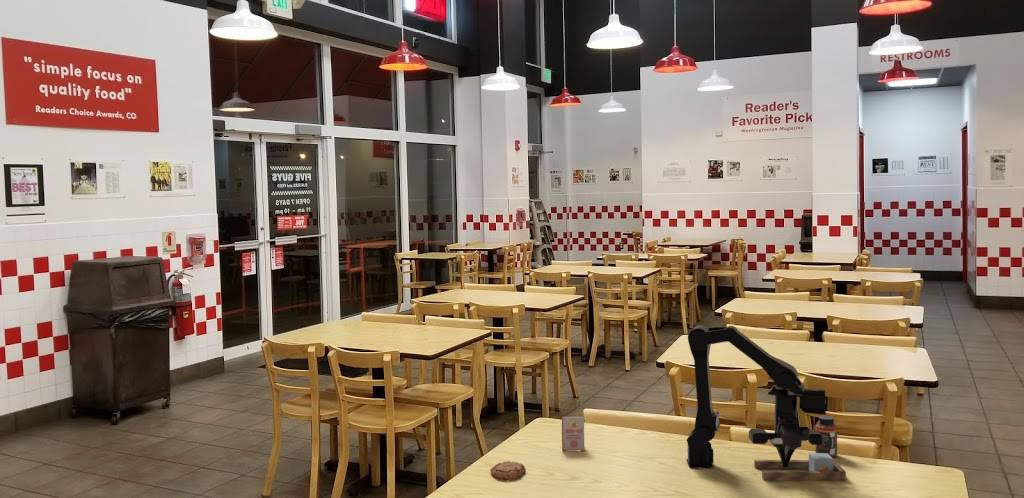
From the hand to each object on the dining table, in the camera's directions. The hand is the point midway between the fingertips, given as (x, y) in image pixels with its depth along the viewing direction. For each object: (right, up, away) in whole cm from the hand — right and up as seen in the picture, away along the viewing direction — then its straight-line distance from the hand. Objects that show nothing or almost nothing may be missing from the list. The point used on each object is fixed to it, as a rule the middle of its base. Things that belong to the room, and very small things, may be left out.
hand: (784, 467), depth 218 cm
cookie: (-76, -4, +4) cm, 76 cm away
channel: (+3, -2, 0) cm, 3 cm away
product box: (-56, -2, +26) cm, 62 cm away
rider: (+10, -2, -1) cm, 10 cm away
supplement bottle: (+17, -1, +15) cm, 23 cm away
